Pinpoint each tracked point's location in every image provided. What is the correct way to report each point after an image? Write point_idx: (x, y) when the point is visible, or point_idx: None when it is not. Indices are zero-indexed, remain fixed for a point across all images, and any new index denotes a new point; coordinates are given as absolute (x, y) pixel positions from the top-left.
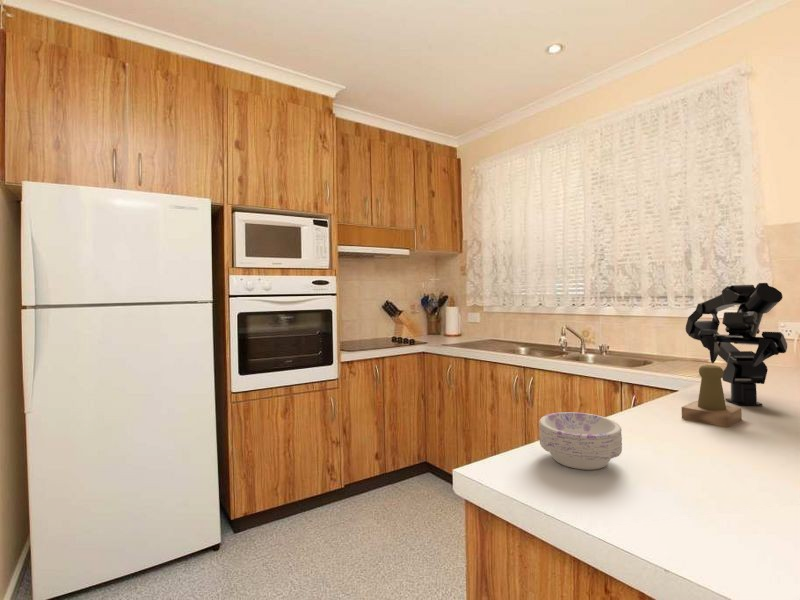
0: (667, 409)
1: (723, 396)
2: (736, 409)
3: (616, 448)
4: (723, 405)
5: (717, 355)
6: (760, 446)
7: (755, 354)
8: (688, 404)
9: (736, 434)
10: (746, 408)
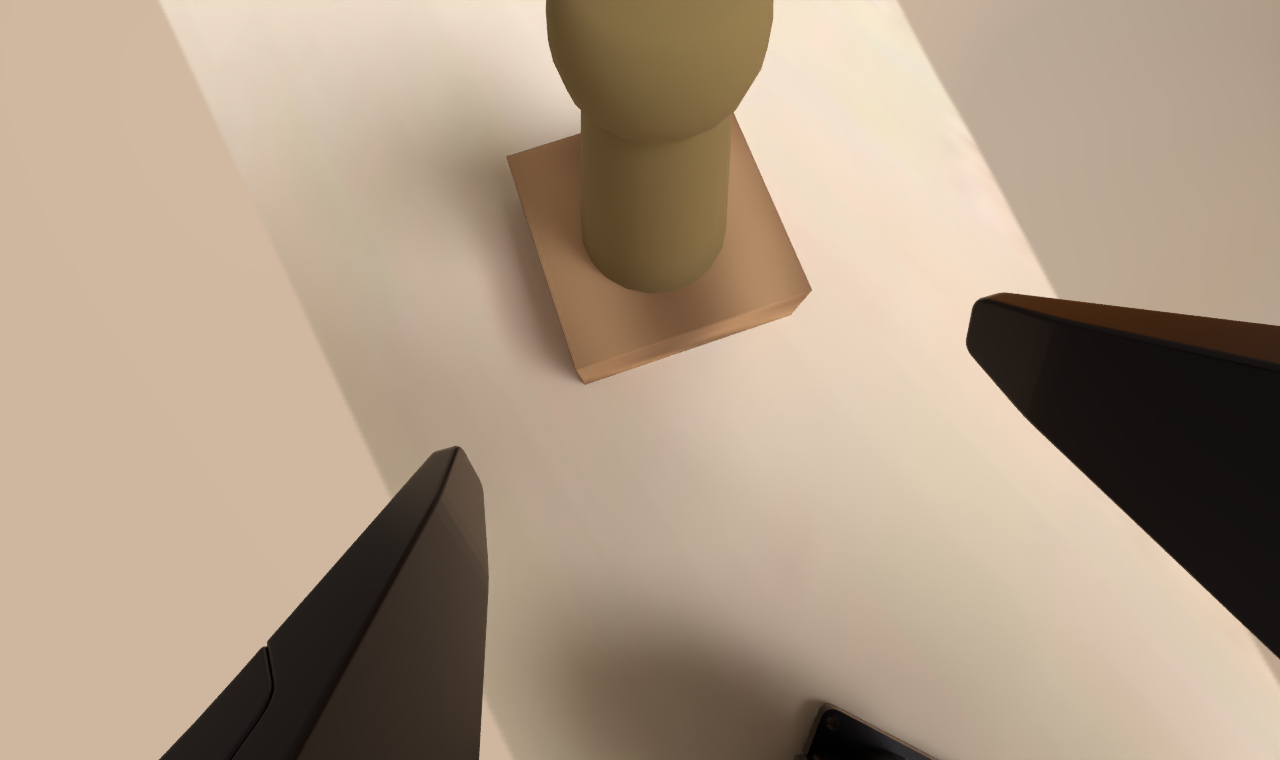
0: (879, 210)
1: (585, 200)
2: (565, 309)
3: None
4: (581, 215)
5: (1185, 558)
6: (311, 84)
7: (373, 587)
8: (754, 167)
9: (441, 137)
10: (753, 680)
